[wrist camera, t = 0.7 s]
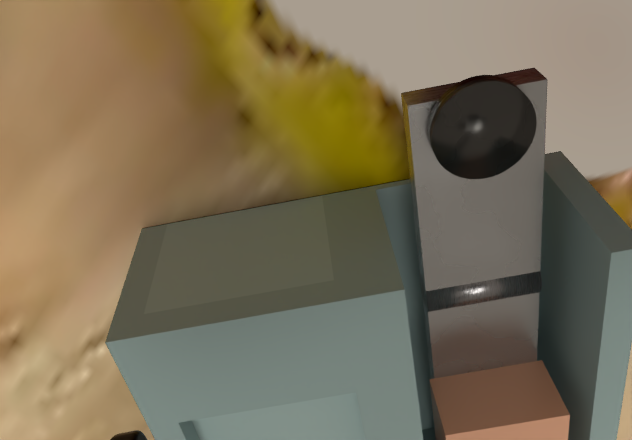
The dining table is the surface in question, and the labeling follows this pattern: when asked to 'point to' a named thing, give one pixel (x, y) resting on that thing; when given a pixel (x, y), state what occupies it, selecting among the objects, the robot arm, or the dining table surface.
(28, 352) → the dining table surface
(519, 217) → the lever
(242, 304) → the jig
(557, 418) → the salmon orange rectangular block
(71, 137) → the dining table surface
